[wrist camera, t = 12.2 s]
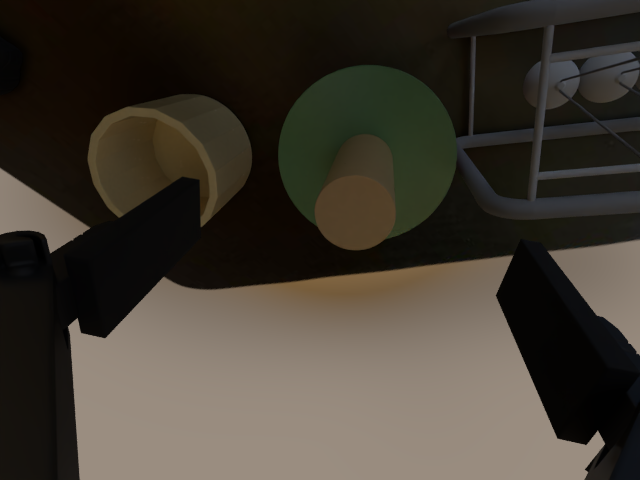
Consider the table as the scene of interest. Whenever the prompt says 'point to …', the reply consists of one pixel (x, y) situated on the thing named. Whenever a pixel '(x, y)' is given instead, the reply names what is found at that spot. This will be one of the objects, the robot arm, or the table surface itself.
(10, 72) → the tape measure
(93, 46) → the table surface
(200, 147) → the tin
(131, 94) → the table surface
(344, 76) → the lid
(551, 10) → the newton's cradle
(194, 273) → the table surface
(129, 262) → the robot arm
